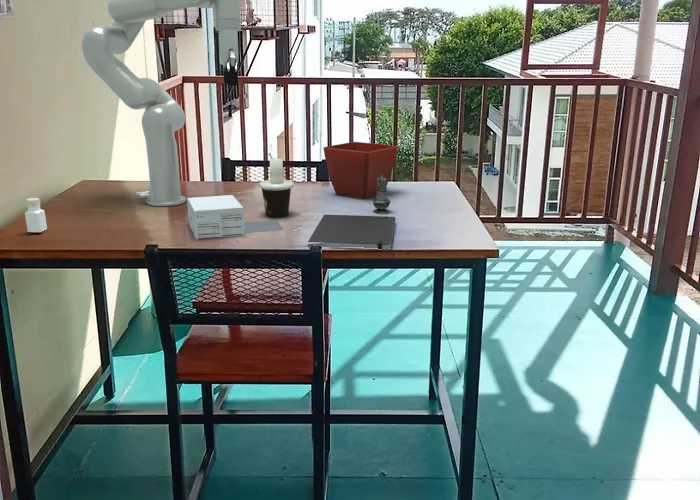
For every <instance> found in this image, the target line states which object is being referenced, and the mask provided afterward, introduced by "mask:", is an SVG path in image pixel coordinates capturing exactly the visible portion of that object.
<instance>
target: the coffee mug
mask: <svg viewBox="0 0 700 500" xmlns="http://www.w3.org/2000/svg"><path fill="white" fill-rule="evenodd" d="M291 190H292V188H289V189H281V190H270V189H263V188H261V192H262V193H261V194H262V198H263V206H264V212H265V216H266V217H267V218H271V219H281V218H285V217H288V216H289V211H290V203H291V201H290V200H291Z"/></svg>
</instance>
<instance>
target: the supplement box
mask: <svg viewBox="0 0 700 500" xmlns="http://www.w3.org/2000/svg"><path fill="white" fill-rule="evenodd" d="M186 202H187V213H188V214H187V215H188V225H189V227H190V229H191V231H192V234H193V237H194V239H195V240H205V239H206V240H207V239H217V238H218V239H219V238H229V237H239V236H245V233H244V222H245V218H244V217H245V216H244V207H243V206H242V204H241V202H239V201H238V200H237V198H236V197H235V196H234V195H233V194H230V195H229V194H227V195H214V196H213V195H212V196H197V197H196V196H195V197H187V198H186Z"/></svg>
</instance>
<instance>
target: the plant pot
mask: <svg viewBox="0 0 700 500" xmlns="http://www.w3.org/2000/svg"><path fill="white" fill-rule="evenodd" d="M322 148H323V153H324V160H325V163H326V167H327V173H328V176H329V179H330V182H331V184H332V187H333V190H334V192H335V195H338V194H339V195H338V196H344V195H345V197H350V196H351V197H352V198H356V197H357V199H362V198H364V199H368V198H372V197H375V196H377V190H376V188H377V179H378V178H380V177H381V175H383V177H384V178H386V188H387V186H388V185H389V184H388V183H389V181H390V177H391V176H392V171H393V169H394V164H395V161H396V156H397V151H398V145H391V144H390V145H389V144H382V143H381V144H380V143H371V142H363V141H360V142H359V141H351V142H350V141H349V142H344V143H340V144H339V143H338V144H335V145H334V144H332V145H329V146H328V145H327V146H323V147H322ZM351 197H350V198H351Z"/></svg>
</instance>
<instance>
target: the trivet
mask: <svg viewBox="0 0 700 500" xmlns="http://www.w3.org/2000/svg"><path fill="white" fill-rule="evenodd" d="M274 231H285V230H284V228H283V227H282V225H281V224H280V222H279V221H278V219H267V220H255V221H244V234H247V233H258V232H259V233H261V232H274Z"/></svg>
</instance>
